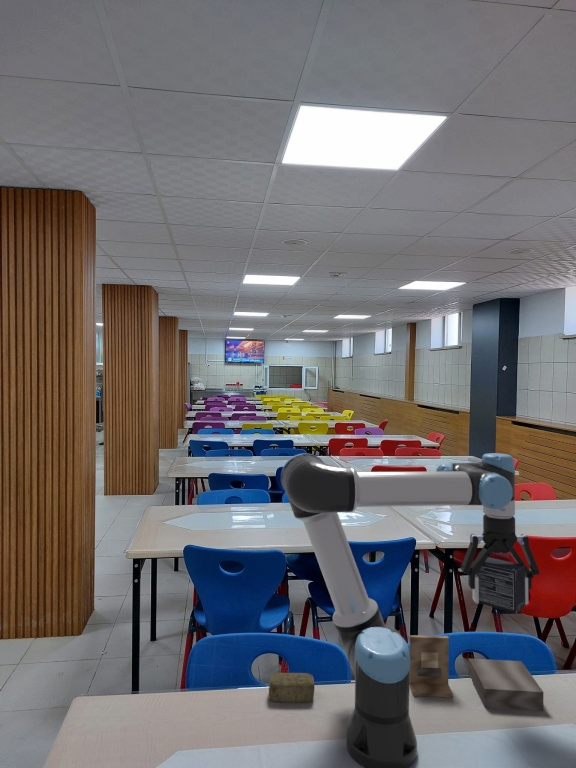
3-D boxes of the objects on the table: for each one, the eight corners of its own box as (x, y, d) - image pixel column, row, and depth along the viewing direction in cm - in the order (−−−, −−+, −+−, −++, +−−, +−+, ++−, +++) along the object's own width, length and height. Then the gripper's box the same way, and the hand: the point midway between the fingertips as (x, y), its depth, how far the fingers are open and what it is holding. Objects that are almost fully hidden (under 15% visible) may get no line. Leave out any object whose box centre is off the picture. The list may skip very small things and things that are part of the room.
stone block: (315, 704, 125) (315, 683, 125) (268, 704, 125) (268, 684, 125) (313, 690, 131) (313, 670, 131) (269, 690, 131) (269, 671, 131)
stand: (413, 695, 129) (413, 644, 129) (408, 682, 135) (408, 633, 135) (452, 697, 128) (453, 645, 128) (446, 683, 134) (446, 634, 134)
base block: (484, 709, 124) (484, 688, 124) (468, 676, 138) (468, 658, 138) (543, 712, 123) (543, 692, 123) (521, 679, 137) (521, 661, 137)
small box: (527, 606, 126) (526, 564, 126) (517, 615, 121) (516, 571, 121) (485, 594, 133) (484, 554, 134) (474, 602, 129) (473, 561, 129)
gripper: (455, 518, 125) (456, 607, 125) (554, 519, 123) (555, 608, 123) (447, 511, 132) (448, 594, 132) (540, 511, 131) (541, 595, 131)
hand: (500, 601), depth 128 cm, fingers closed on small box, 11 cm apart
